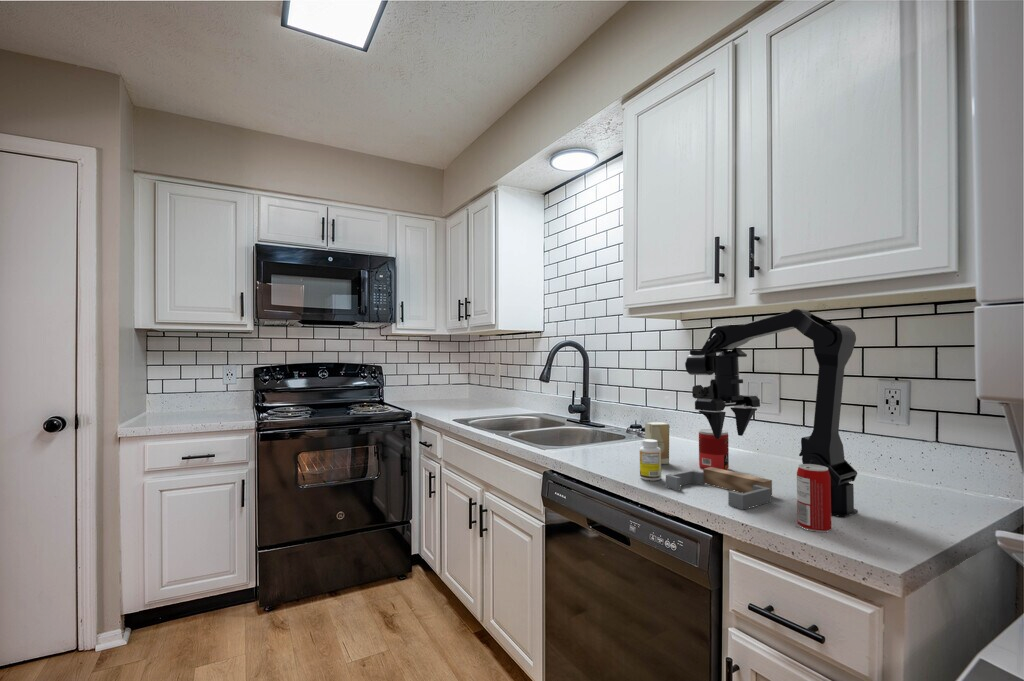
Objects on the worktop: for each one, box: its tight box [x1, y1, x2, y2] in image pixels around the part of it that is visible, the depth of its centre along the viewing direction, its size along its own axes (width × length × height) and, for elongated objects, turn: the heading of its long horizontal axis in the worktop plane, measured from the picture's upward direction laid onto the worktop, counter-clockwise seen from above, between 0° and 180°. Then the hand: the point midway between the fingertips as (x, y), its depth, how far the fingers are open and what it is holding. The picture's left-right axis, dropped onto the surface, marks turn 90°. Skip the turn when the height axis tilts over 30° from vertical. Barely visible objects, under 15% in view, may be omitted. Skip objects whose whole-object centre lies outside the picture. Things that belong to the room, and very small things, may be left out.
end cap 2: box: [727, 485, 772, 510], centre depth 110 cm, size 4×10×3 cm, turn 122°
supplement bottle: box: [639, 438, 662, 482], centre depth 132 cm, size 6×6×10 cm
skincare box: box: [644, 421, 670, 465], centre depth 151 cm, size 6×4×12 cm
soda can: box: [796, 463, 832, 533], centre depth 95 cm, size 6×6×12 cm
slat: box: [702, 467, 773, 496], centre depth 122 cm, size 16×4×4 cm, turn 34°
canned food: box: [698, 428, 730, 471], centre depth 143 cm, size 8×8×11 cm
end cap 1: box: [665, 469, 706, 491], centre depth 125 cm, size 4×10×3 cm, turn 122°
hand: (729, 437), depth 125 cm, fingers open, 9 cm apart
